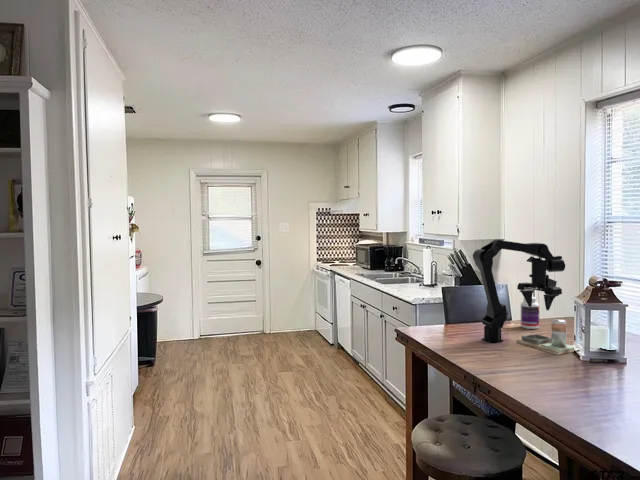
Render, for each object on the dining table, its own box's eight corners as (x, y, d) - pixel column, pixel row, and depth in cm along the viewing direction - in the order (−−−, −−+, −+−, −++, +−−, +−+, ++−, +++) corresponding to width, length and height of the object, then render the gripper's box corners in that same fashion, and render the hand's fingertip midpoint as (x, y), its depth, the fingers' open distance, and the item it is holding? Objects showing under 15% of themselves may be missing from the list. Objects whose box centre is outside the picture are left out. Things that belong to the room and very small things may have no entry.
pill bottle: (542, 329, 215) (542, 298, 215) (524, 329, 215) (524, 299, 215) (534, 325, 223) (534, 295, 223) (517, 325, 224) (517, 296, 223)
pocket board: (557, 354, 176) (557, 348, 176) (516, 342, 195) (516, 336, 195) (580, 350, 181) (580, 344, 181) (538, 338, 199) (538, 332, 199)
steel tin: (559, 347, 179) (559, 322, 179) (548, 344, 184) (548, 319, 184) (569, 346, 181) (569, 320, 181) (557, 343, 186) (557, 318, 186)
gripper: (571, 273, 193) (571, 310, 194) (535, 269, 211) (535, 303, 211) (552, 275, 189) (551, 313, 190) (516, 270, 206) (516, 305, 207)
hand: (538, 308), depth 199 cm, fingers open, 9 cm apart
